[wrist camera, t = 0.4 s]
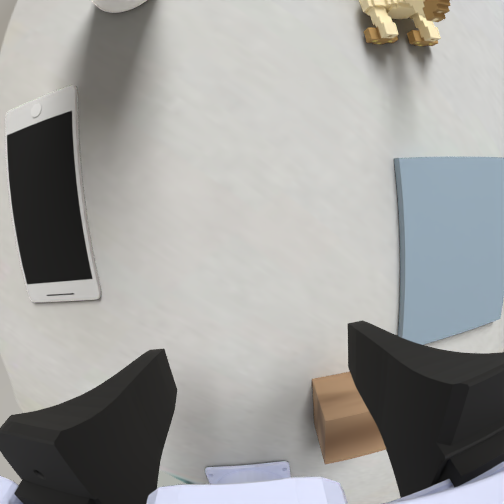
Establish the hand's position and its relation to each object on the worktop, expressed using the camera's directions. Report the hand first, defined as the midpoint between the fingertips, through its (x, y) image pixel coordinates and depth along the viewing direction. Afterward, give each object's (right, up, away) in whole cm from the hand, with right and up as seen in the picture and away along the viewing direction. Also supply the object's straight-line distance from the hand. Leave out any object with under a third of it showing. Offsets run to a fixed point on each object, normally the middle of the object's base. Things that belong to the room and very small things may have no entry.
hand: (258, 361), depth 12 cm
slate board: (+16, +4, +9) cm, 18 cm away
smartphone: (-15, +8, +8) cm, 19 cm away
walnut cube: (+7, -8, +12) cm, 16 cm away
